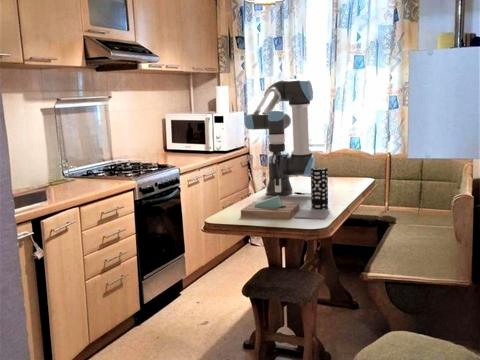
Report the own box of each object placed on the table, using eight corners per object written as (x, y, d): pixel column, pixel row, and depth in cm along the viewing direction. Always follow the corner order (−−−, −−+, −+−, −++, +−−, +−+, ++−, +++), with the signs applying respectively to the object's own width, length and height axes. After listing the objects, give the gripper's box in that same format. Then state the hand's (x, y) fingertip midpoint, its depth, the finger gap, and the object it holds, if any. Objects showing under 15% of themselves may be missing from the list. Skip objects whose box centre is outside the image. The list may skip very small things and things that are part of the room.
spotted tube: (308, 207, 261) (307, 168, 258) (322, 205, 264) (322, 166, 261) (316, 210, 253) (315, 170, 250) (331, 208, 256) (330, 168, 253)
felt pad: (301, 211, 253) (301, 210, 253) (329, 212, 248) (329, 211, 248) (294, 218, 240) (294, 216, 240) (324, 219, 235) (324, 218, 235)
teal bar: (260, 212, 255) (257, 202, 254) (282, 205, 250) (278, 195, 250) (258, 214, 251) (254, 204, 251) (280, 206, 246) (276, 197, 246)
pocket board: (253, 208, 264) (253, 201, 263) (299, 209, 256) (299, 202, 255) (240, 217, 245) (240, 210, 245) (290, 219, 238) (289, 212, 237)
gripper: (272, 141, 251) (274, 189, 255) (265, 144, 239) (266, 194, 243) (287, 141, 248) (289, 189, 252) (280, 144, 236) (282, 194, 240)
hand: (278, 191), depth 248 cm, fingers closed
